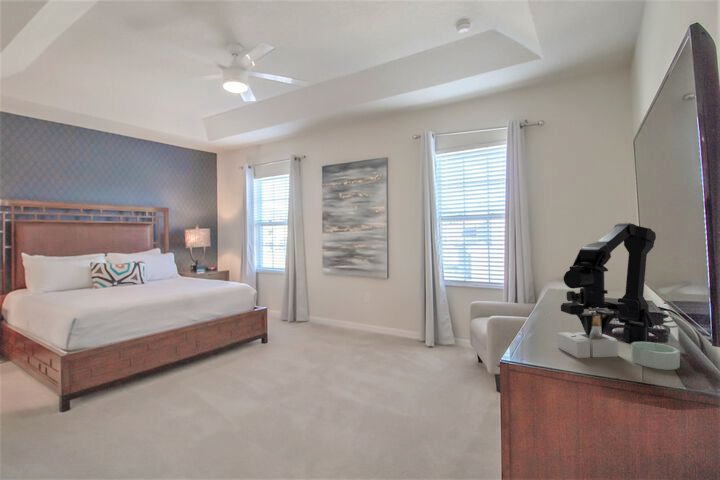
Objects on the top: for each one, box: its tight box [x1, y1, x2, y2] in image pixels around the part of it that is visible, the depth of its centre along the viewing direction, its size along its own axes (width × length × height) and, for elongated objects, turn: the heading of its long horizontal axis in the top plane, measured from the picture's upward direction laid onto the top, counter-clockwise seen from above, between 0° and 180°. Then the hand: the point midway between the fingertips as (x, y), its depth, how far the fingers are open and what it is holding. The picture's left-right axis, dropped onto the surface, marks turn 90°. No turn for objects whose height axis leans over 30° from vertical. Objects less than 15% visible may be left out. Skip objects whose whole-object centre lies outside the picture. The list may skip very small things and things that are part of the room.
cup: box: [630, 341, 681, 371], centre depth 103 cm, size 11×11×4 cm
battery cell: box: [587, 311, 602, 340], centre depth 113 cm, size 4×4×10 cm
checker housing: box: [556, 331, 619, 359], centre depth 113 cm, size 10×14×5 cm
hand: (594, 334), depth 113 cm, fingers closed on battery cell, 4 cm apart
